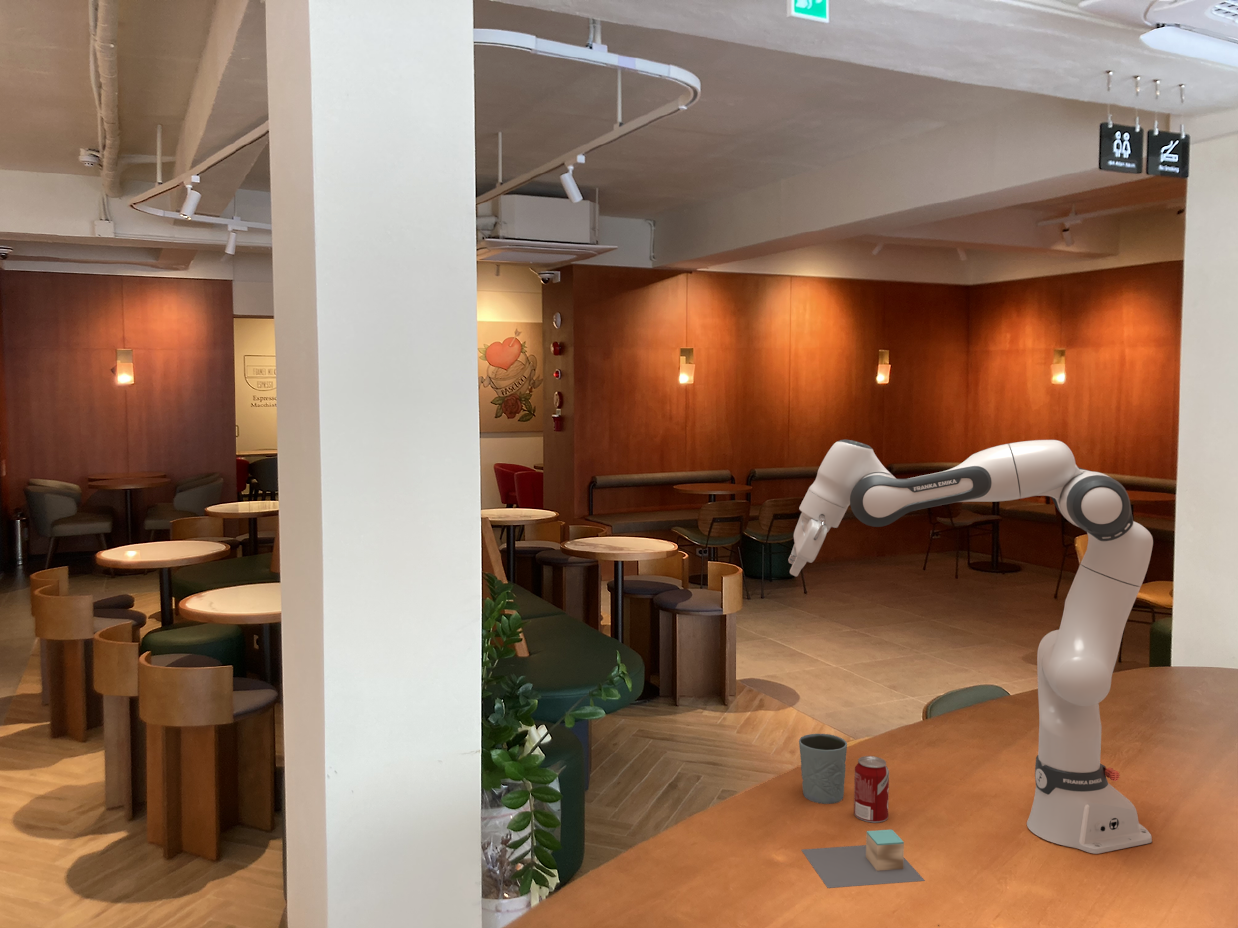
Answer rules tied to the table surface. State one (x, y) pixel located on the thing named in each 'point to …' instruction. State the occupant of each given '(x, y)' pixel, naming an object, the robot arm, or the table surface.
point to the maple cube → (884, 849)
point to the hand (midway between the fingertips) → (792, 568)
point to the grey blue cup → (823, 767)
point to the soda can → (871, 789)
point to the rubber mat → (854, 868)
